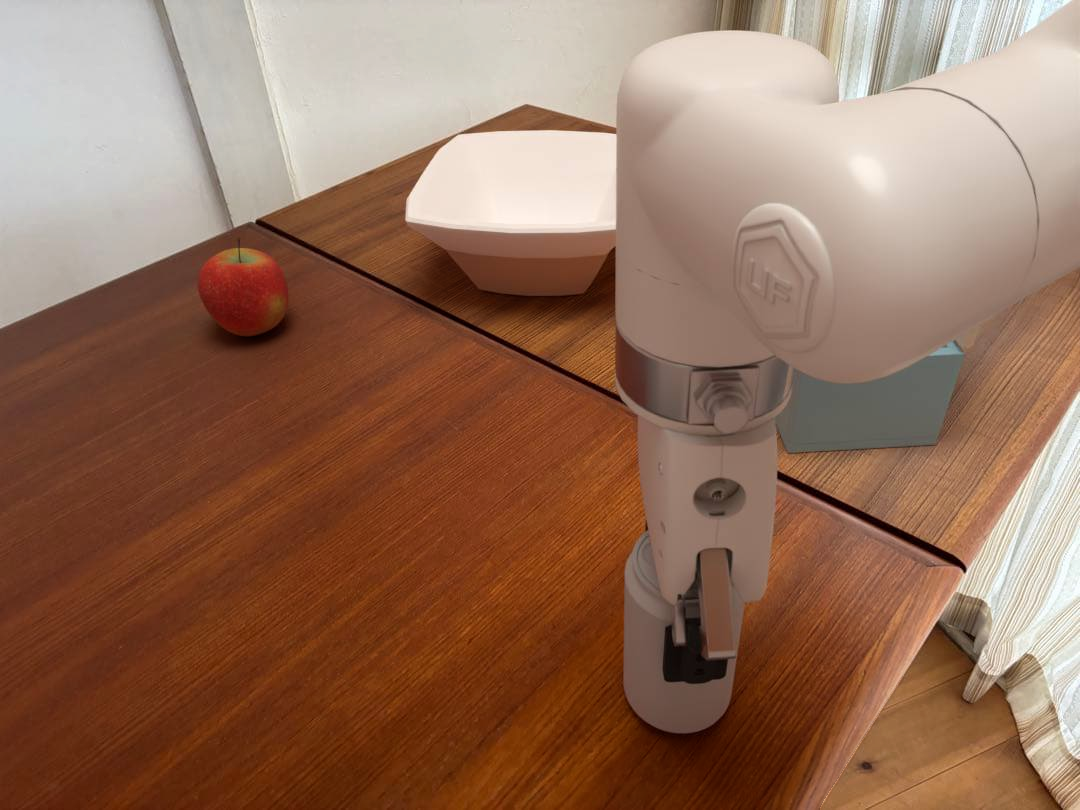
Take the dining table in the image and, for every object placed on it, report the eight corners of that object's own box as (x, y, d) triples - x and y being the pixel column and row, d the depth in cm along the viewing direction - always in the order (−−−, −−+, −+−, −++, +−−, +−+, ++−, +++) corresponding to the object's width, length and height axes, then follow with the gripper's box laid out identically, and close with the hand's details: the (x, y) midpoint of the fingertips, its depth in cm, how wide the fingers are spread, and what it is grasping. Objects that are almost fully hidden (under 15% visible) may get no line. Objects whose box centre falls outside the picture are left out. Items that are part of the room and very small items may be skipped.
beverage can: (720, 753, 48) (741, 620, 40) (610, 723, 50) (611, 590, 42) (737, 661, 52) (758, 526, 45) (636, 636, 54) (640, 503, 47)
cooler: (787, 453, 67) (804, 362, 62) (752, 366, 76) (764, 280, 71) (935, 445, 67) (965, 353, 62) (883, 359, 76) (905, 272, 71)
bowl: (402, 322, 85) (386, 225, 78) (459, 213, 104) (449, 127, 97) (640, 334, 81) (644, 234, 75) (654, 218, 100) (657, 130, 94)
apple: (212, 318, 87) (182, 230, 81) (292, 301, 89) (268, 214, 83) (217, 360, 81) (185, 268, 75) (302, 341, 83) (277, 250, 77)
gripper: (861, 489, 29) (791, 764, 40) (746, 250, 43) (718, 504, 54) (641, 503, 29) (633, 773, 40) (597, 259, 43) (600, 511, 54)
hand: (682, 617), depth 47 cm, fingers closed on beverage can, 6 cm apart
